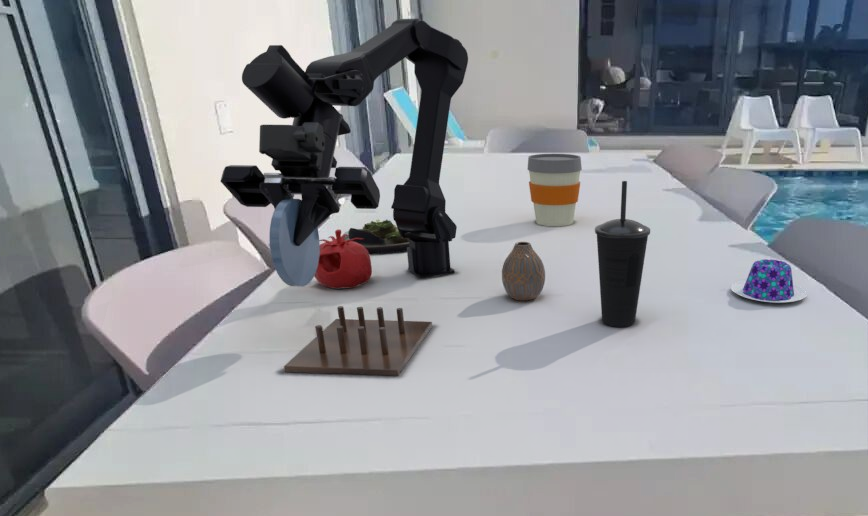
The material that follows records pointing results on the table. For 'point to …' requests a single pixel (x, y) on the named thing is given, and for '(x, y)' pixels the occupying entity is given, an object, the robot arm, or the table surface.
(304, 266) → the plate
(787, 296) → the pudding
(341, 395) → the table surface
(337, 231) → the pomegranate
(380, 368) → the rack
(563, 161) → the reusable coffee cup
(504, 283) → the vase
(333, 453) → the table surface
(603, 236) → the drinking cup
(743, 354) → the table surface
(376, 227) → the salad plate
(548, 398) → the table surface
